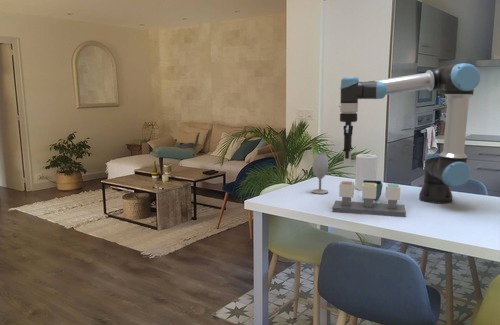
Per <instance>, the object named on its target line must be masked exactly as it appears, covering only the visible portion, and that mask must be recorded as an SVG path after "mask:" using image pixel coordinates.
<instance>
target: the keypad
mask: <svg viewBox="0 0 500 325" xmlns="http://www.w3.org/2000/svg"><path fill="white" fill-rule="evenodd" d="M351 198H352V197H341V200H334V204H333V205H332V211H331V212H332V213H343V214H346V213H347V214H355V215H357V214H360V215H370V216H372V215H373V216H387V217H397V218H398V217H400V218H401V217H402V218H406V217H407V211H406V206H405V204H399V203H398V202H397V201H398V200H387V203H382V202H374V201H373V199H369V198H364V201H351V200H352V199H351ZM397 203H398V204H397Z"/></svg>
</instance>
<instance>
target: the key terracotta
mask: <svg viewBox="0 0 500 325" xmlns="http://www.w3.org/2000/svg"><path fill="white" fill-rule="evenodd" d="M338 187H339V192H338V193H339V194H338V197H340V198H342V197H351V198H354V193H355V192H354V191H355V182H353V181H344V180H343V181H340V183H339V186H338Z"/></svg>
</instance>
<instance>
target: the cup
mask: <svg viewBox="0 0 500 325" xmlns="http://www.w3.org/2000/svg"><path fill="white" fill-rule="evenodd" d="M377 169H378V156H377V155H376V154H369V153H361V154H357V155H356V156H355V176H354V178H355V182H354V189H356V190H358V191H362V185H363V180H371V181H377V175H378V174H377V173H378V172H377V171H378V170H377Z"/></svg>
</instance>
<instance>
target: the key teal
mask: <svg viewBox="0 0 500 325" xmlns="http://www.w3.org/2000/svg"><path fill="white" fill-rule="evenodd" d="M401 188H402V187H401V185H400V184H398V183H385V200H387V201H388V200H397V201H401Z"/></svg>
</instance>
